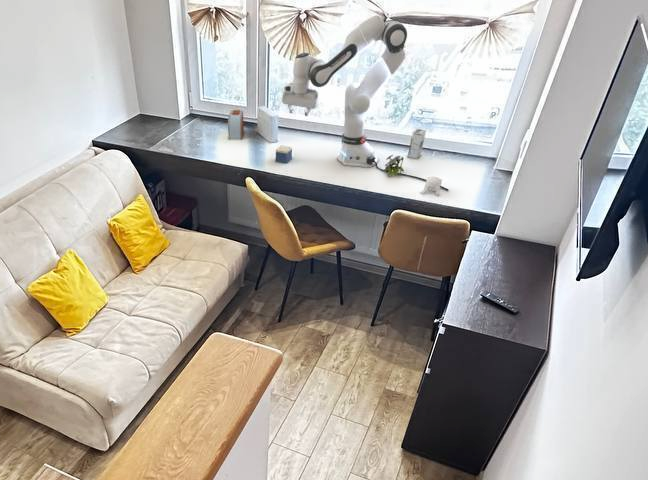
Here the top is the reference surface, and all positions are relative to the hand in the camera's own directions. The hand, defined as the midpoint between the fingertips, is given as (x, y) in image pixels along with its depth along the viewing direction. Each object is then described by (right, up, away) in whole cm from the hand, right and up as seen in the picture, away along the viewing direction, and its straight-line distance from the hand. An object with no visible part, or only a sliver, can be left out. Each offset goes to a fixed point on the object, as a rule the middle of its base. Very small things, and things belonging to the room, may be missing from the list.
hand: (299, 114), depth 297 cm
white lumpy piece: (+66, -49, -19) cm, 84 cm away
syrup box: (+69, -18, +14) cm, 72 cm away
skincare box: (-14, +7, +46) cm, 49 cm away
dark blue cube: (-6, -18, +19) cm, 27 cm away
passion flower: (+52, -33, -1) cm, 62 cm away
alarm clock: (-34, +10, +51) cm, 62 cm away
